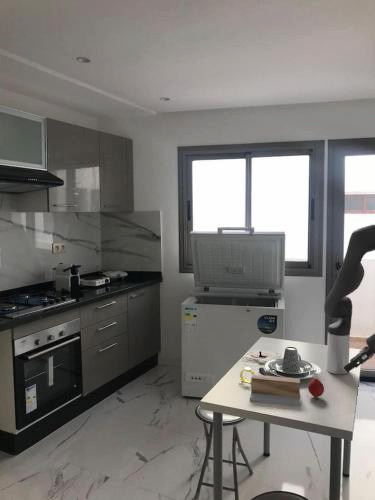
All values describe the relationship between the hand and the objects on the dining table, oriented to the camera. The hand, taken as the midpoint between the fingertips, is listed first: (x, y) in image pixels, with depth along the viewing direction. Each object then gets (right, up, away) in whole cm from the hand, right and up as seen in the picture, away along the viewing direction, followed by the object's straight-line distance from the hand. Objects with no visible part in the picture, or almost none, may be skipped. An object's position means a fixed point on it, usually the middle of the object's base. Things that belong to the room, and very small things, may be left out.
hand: (348, 366), depth 155 cm
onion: (-9, -14, +8) cm, 19 cm away
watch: (-33, -13, +23) cm, 43 cm away
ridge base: (-25, -14, +9) cm, 30 cm away
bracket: (-24, -13, +28) cm, 39 cm away
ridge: (-25, -13, +9) cm, 29 cm away
